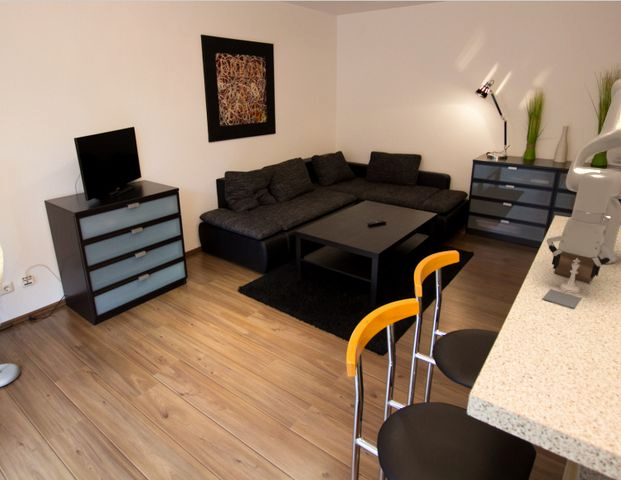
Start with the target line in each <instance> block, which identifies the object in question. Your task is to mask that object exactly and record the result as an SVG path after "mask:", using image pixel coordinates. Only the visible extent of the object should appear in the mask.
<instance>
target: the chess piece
mask: <svg viewBox="0 0 621 480" xmlns="http://www.w3.org/2000/svg"><path fill="white" fill-rule="evenodd" d="M573 262H575V263H572V270H570V272H571V273H572V274H571V277H570V278H568V281H567V282H565V283H561V284H560V289H561V290H562V291H565V292H567V293H573V294H574V293H575V294H576V293H579V292H580V287H579V286H578V285H576V284H575V282H576V280H575V274H578V272H577V271H576V270H577V269H578V268H579V266H580V265H579V264H577V263H578V262H580V260H578V258H576V260H573Z"/></svg>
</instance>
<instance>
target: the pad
mask: <svg viewBox="0 0 621 480" xmlns="http://www.w3.org/2000/svg"><path fill="white" fill-rule="evenodd" d="M541 300H543V301H545V302H549V303H553V304H555V305H559V306H561V307H566V308H568V309H572V310H575V309H576V307H577V306H578V304H579V303H580V302H581V300H582V297H581V296H576V295H572V294H570V293H569V294H568V293H566V292H562V291H559V290H555V289H552V288H550V289H549V290H548V291H547V292H546V294H545V295H544V296H543V297H542V299H541Z"/></svg>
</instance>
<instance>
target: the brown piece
mask: <svg viewBox="0 0 621 480" xmlns="http://www.w3.org/2000/svg"><path fill="white" fill-rule="evenodd" d="M560 255H561V257H560V261H559V265H558V267H557V268H556V269H554V271H553V274H554V275H556V276H560V277H562V278H563V277H564V278H567V279H570V277H571V274H572V273H571V272H570V270H572V263H575V262H573V260H576V258H578V260H580V262H578V263H577V264H579V265H580V266H579V268H578V269H577V270H576V271H577V272H578V274H575V281H578V282H582V283H586V284H588V285H589V284H591V283H592V281H593V279H592V278H590V276H591V273H592V269H593V266H594V264H595V262H594V261H593V259H592V258H588V257H583V256H579V255H575V254H570V253H566V252H561V253H560Z"/></svg>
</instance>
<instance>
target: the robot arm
mask: <svg viewBox="0 0 621 480" xmlns="http://www.w3.org/2000/svg"><path fill="white" fill-rule="evenodd" d="M610 89H611V90H610V97H611V98H610V99H611V102H610V105H609V107H608V111H607V114H606V116H605V118H604V119H605V120H604V122H603V125H602V127H601V131H600V133H599V134H598V135H597V136H595V137H593V138H592V139H590V140H589V141H588V142H586V143H584V145H583V146H581V148H579V150H577V152H576V153H575V154H574V156H573V158H572V160H571V164H570V166H569V170H568V172H567V174H566V178H565V187H566V188H567V190H569V191H571V192H575V193H576V196H575V201H574V205H573V209H572V213H571V216H569V217H568V218H567V220H566V223H565V225H564V228H563V231H562V234H561V235H557V236H553V237H548V238H547V239H546V243H547V246H548V249H549V251H550V252H551V253H552V256H553V257H552V262H551V265H552V266H553V267H552V269H553V270H555V269H556V268H557V267H558V265H559V261H560V257H561V255H560V253H561V252H566V253H570V254H575V255H579V256H583V257H588V258H592V259H593V261H594V262H595V264H594V266H593V269H592V273H591V276H590V278H592V280H593V279H594V278H595V277H597V276H599V274H600V273H599V272H600V269H601V266H603V265H608V264H609V265H610V264H615V263H616V262H617V259H618V257H617V256H616V255H617V252H616V251H614V249H615V246H616V241H617V238H618V235H619V231H620V227H621V203H620V201H619V200H621V168H612V167H611V168H599V167H589V166H584V164H585V163H586V161H587V160H588V159H590V158H591V157H593V156H595V155H597V154H600V153H602V152H606V160H607V162H609V163H610V164H613V165H619V166H621V78H619V79H617V80H615V82H614V83H613V84H612V87H611V88H610ZM555 242H559V243H558V248H557V247H556V245H555V244H554V243H555Z"/></svg>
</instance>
